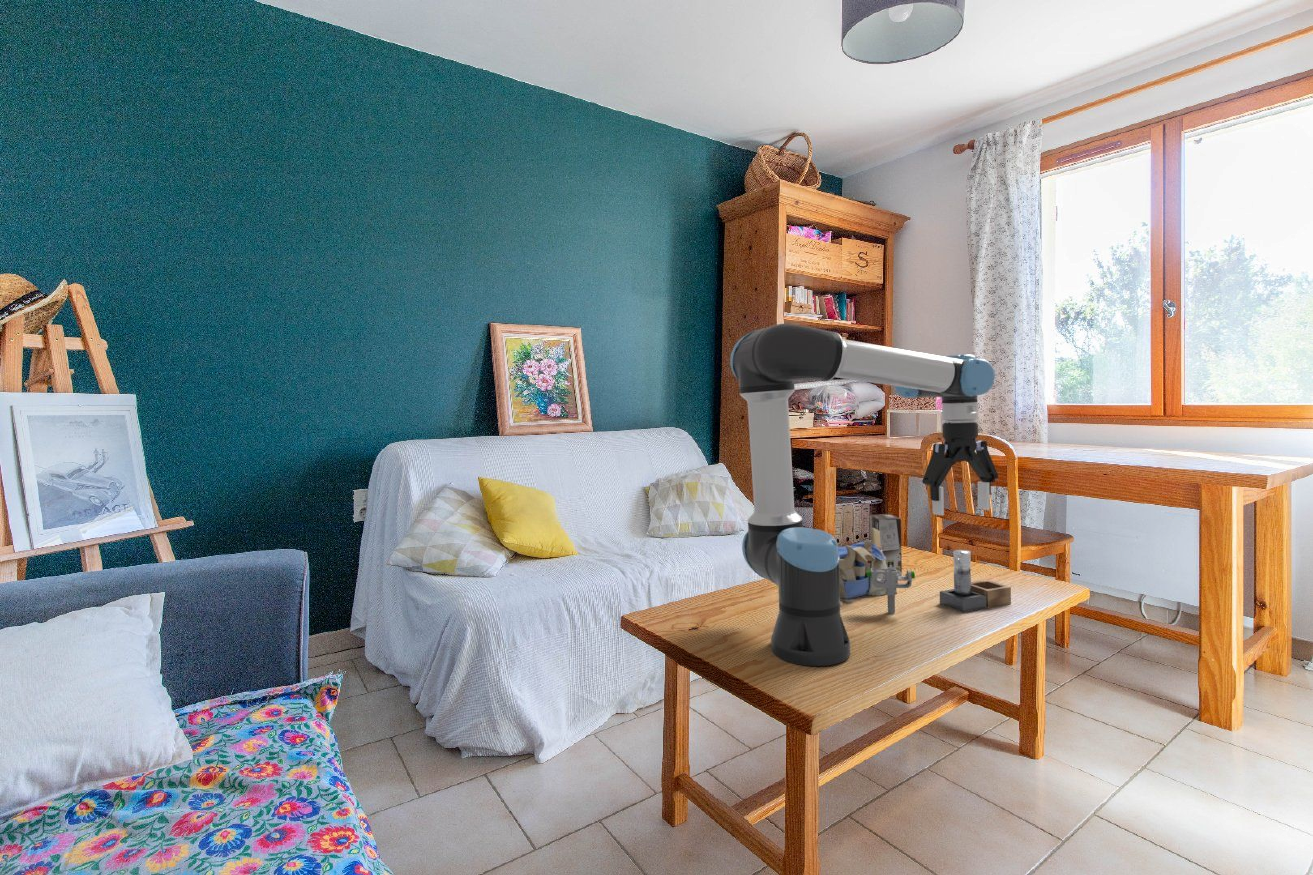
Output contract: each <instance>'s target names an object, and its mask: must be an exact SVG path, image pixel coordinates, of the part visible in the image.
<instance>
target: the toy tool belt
mask: <svg viewBox="0 0 1313 875" xmlns="http://www.w3.org/2000/svg"><path fill="white" fill-rule="evenodd" d="M869 539H870V540H864V541H861V542H857V543H854V544H852V545H848V544H846V545H845V546H838V550H839V556H840V561H839V592H840V599H842V601H841V600H840V607H843V605H844V603H845V604H847V605H850V604H853V603H854V600H852V599H853V598H854V599H855V598H858V597H863V596H865V595H868V596H875V595H876V596H883V595H887V594H886V593H885V591H886V588H877V587H875V586H874V585H873V583H872V581H871V578H867V571H870V569H888V568H887V564H886V561H885V560H886V559H887V558H886V557H885V556H884V554H883V552H882V550H881V543H880V531H879V530H877V529H875V528H870V527H869ZM882 578H883V575H879V576H878V577H877V579H882ZM850 599H851V600H850Z"/></svg>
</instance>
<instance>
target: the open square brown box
mask: <svg viewBox="0 0 1313 875" xmlns="http://www.w3.org/2000/svg"><path fill="white" fill-rule="evenodd" d="M1011 588H1012V587H1011V586H1008V585H1006V584H1003V583H1002V584H1001V583H999V582H998V583H997V582H995V581H993V580H988V579H984V580H982V579H981V580H977V581H971V591H974V592H977V593H980V594H983V595H986V609H990V608H995V607H1000V606H1007V605H1011V604H1012V590H1011Z"/></svg>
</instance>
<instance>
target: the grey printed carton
mask: <svg viewBox="0 0 1313 875" xmlns="http://www.w3.org/2000/svg"><path fill="white" fill-rule="evenodd" d="M870 528H875V529H877V530H879V531H880V543H881V550H882V552H883V554H884V556H885V557H886V558H887V559H886V560H885V561H886V564H887V568H888V569H895V570H897V574H899V575H900V576H903V572H902V570H903V569H902V568H903V567H902V566H903V563H902V518H901V517H897V516H895V515H893V513H881V514H880V513H879V514H869V529H870Z"/></svg>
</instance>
